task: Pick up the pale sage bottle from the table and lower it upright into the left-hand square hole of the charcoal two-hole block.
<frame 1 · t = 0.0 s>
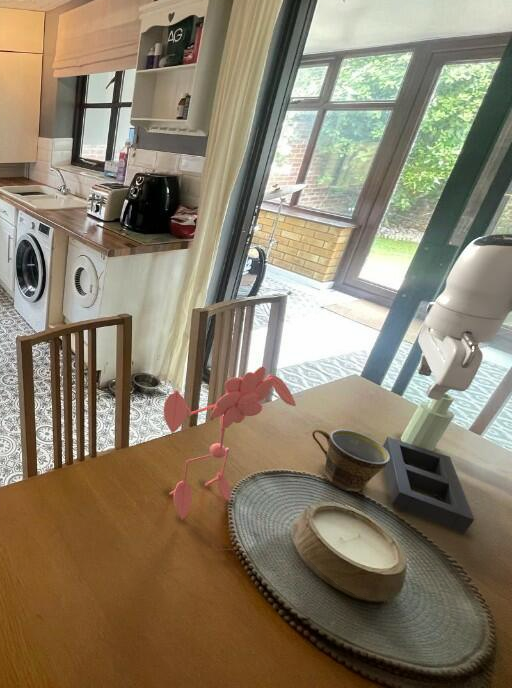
hand: (427, 384, 80), 26 cm above the table, tool pointing down, fingers open, 8 cm apart
bottle: (416, 444, 101), on the table
ceramic cup: (334, 476, 93), on the table
holder: (417, 486, 90), on the table
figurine: (209, 517, 83), on the table
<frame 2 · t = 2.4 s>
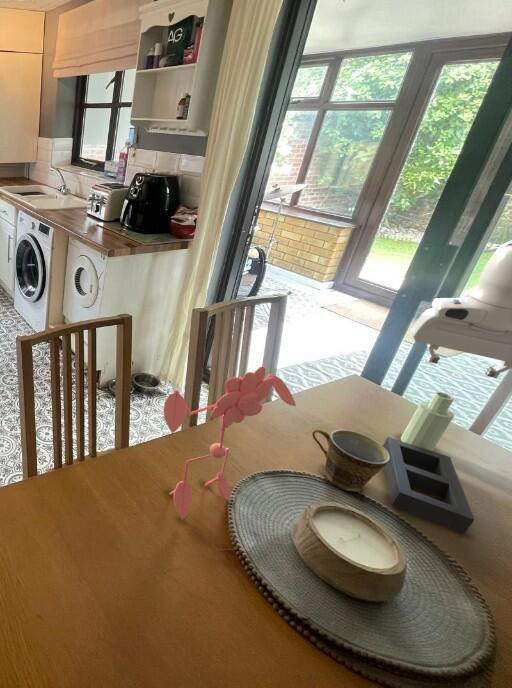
hand: (460, 368, 92), 23 cm above the table, tool pointing down, fingers open, 8 cm apart
nothing on the table moved.
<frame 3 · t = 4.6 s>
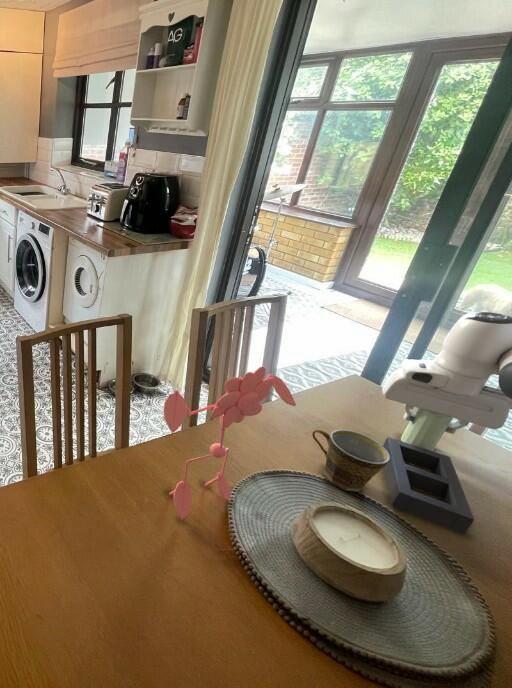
hand: (427, 425, 99), 6 cm above the table, tool pointing down, fingers closed on bottle, 6 cm apart
bottle: (416, 444, 101), on the table, touching gripper
everything else where it was.
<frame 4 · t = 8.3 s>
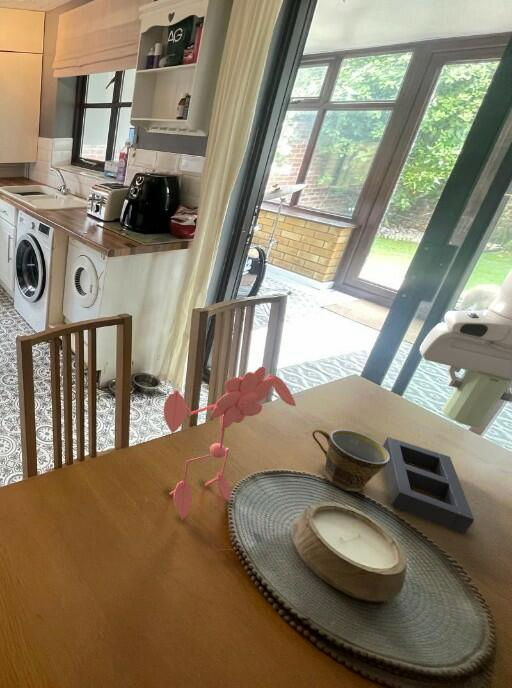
hand: (477, 392, 80), 25 cm above the table, tool pointing down, fingers closed on bottle, 6 cm apart
bottle: (461, 417, 82), point 19 cm above the table, touching gripper
everything else where it was.
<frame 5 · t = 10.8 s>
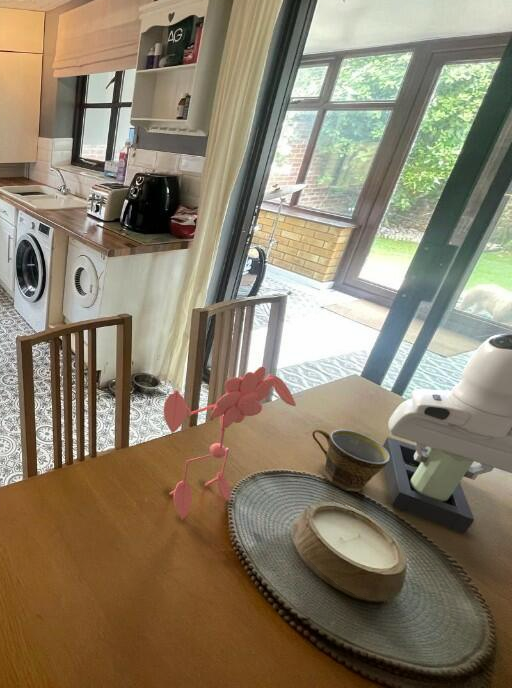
hand: (442, 467, 83), 9 cm above the table, tool pointing down, fingers closed on bottle, 6 cm apart
bottle: (428, 489, 85), point 3 cm above the table, touching gripper
everything else where it was.
when the fingers open (6 cm above the table, at t = 12.3 s): bottle stays where it is, resting in holder.
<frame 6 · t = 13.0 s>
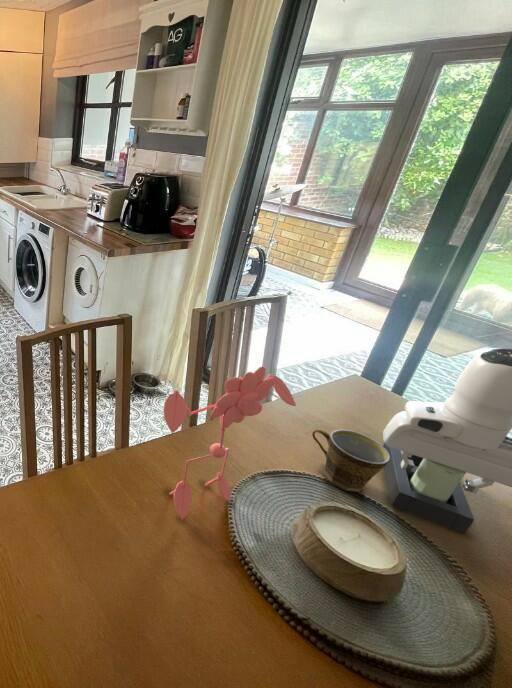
hand: (436, 478, 84), 6 cm above the table, tool pointing down, fingers open, 8 cm apart
bottle: (421, 500, 87), resting in holder
everything else where it was.
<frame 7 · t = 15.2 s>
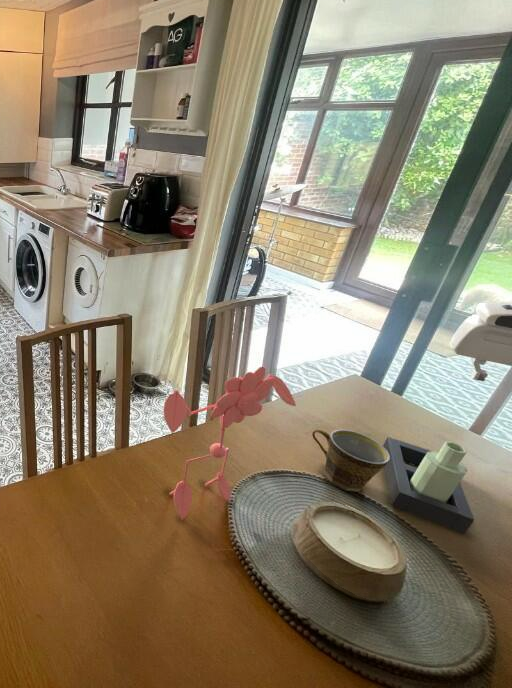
nothing on the table moved.
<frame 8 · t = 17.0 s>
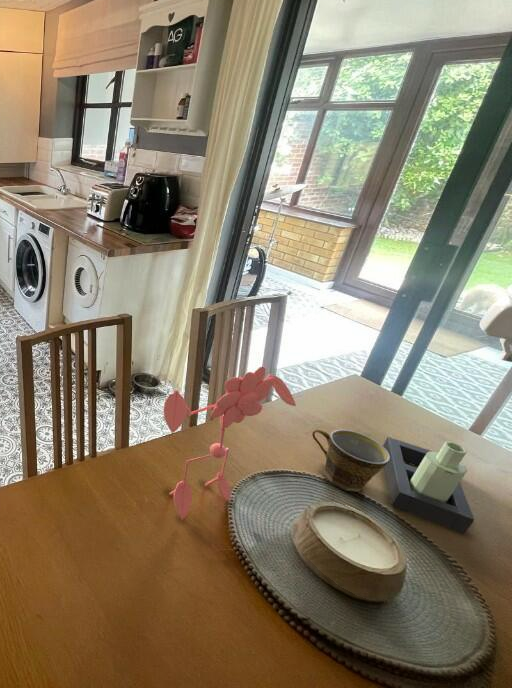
nothing on the table moved.
at the end: bottle 0.0 cm from the target spot in the holder, point 0.0 cm above the holder's base; bottle tilted 0°; the gripper is holding nothing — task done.
